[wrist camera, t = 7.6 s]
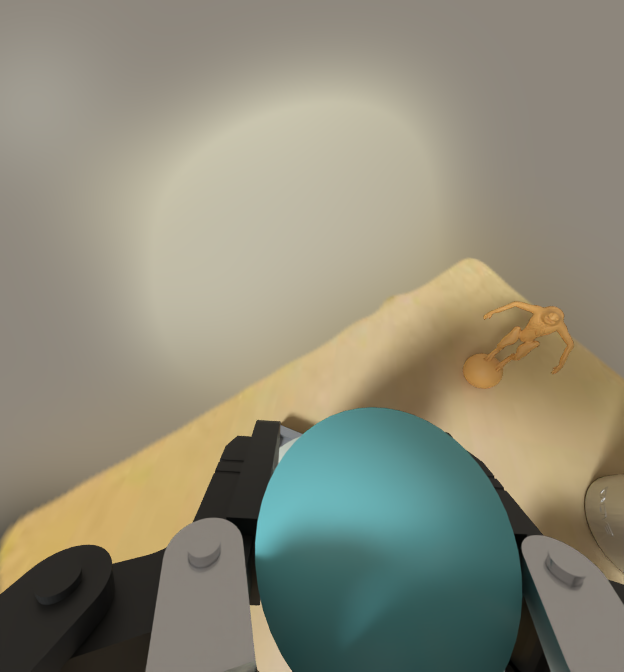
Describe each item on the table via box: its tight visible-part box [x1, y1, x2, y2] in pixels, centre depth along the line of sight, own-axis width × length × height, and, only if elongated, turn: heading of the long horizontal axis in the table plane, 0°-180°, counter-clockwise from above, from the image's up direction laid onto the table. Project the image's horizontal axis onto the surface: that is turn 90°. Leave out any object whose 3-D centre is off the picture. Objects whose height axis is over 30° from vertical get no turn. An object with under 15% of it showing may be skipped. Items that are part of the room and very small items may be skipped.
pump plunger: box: [255, 407, 522, 672], centre depth 9 cm, size 4×4×10 cm
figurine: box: [463, 301, 574, 388], centre depth 31 cm, size 8×6×12 cm
